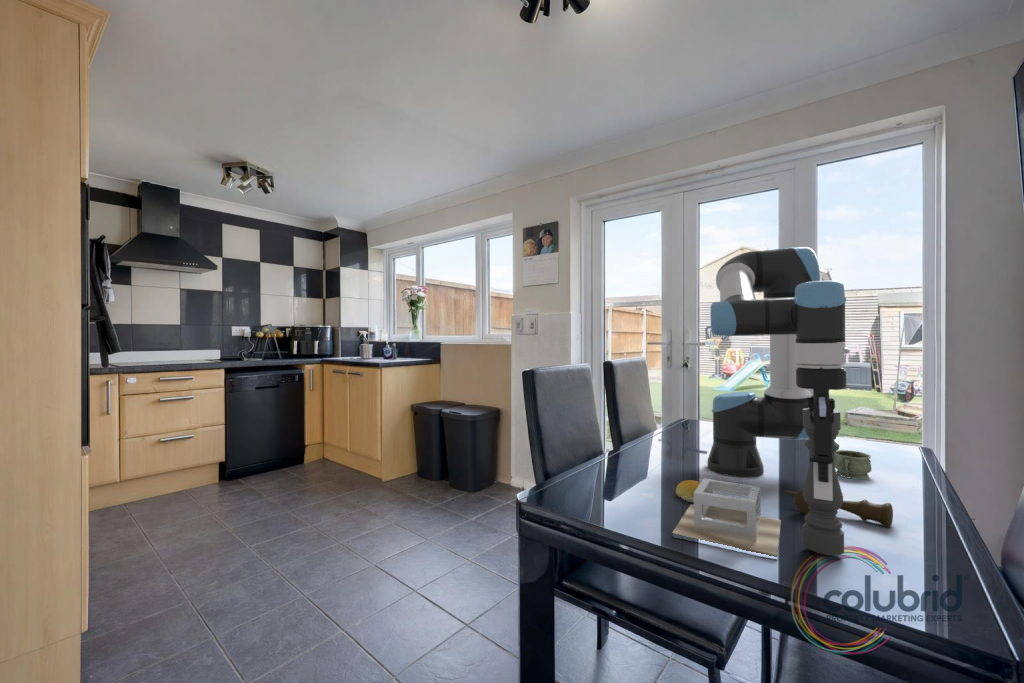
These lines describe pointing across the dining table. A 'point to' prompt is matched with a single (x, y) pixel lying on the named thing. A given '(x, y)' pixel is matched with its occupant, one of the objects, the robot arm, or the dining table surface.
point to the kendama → (854, 509)
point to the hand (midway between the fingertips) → (822, 493)
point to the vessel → (852, 464)
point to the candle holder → (821, 519)
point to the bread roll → (687, 490)
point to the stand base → (764, 544)
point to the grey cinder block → (727, 509)
